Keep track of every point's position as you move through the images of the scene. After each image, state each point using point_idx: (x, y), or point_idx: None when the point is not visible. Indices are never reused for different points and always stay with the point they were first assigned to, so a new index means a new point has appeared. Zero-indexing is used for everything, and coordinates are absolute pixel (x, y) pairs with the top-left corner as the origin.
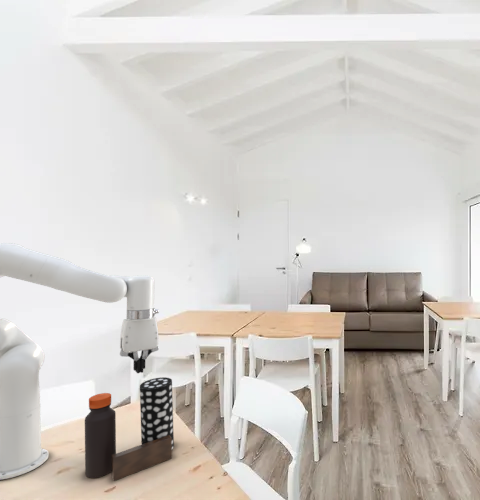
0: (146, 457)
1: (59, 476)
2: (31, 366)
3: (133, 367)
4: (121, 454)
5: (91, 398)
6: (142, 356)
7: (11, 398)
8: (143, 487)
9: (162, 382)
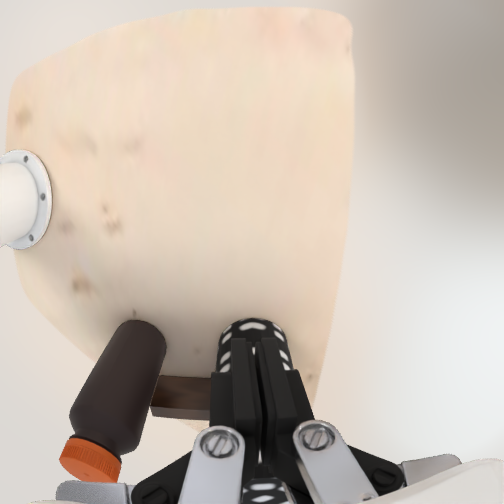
0: None
1: (77, 303)
2: None
3: (211, 378)
4: (166, 416)
5: (66, 466)
6: (288, 483)
7: None
8: (200, 421)
9: (282, 500)
